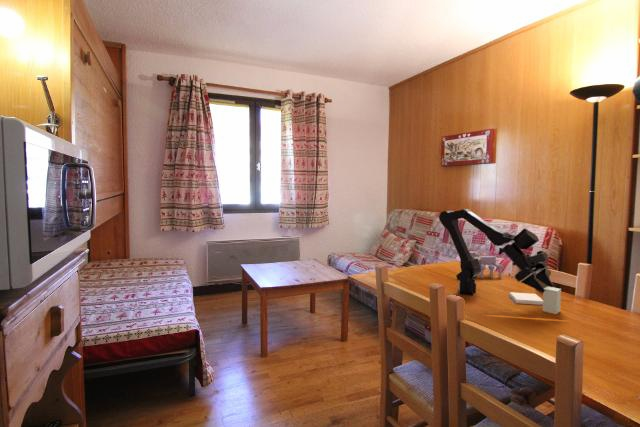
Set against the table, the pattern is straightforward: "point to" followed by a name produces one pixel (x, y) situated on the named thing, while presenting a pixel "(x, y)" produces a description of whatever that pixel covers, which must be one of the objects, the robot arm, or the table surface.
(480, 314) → the table surface
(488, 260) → the toy sheep
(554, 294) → the block
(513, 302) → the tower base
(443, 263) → the table surface
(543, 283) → the olive green vase
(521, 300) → the tower top
